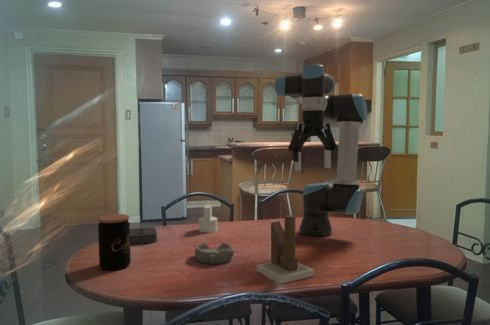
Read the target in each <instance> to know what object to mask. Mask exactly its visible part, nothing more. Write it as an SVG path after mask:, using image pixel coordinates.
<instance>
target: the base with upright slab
mask: <svg viewBox="0 0 490 325" xmlns="http://www.w3.org/2000/svg"><path fill="white" fill-rule="evenodd" d="M212 206H213V204H205V205H204V207H203V216H202V217H199V218H198V232H200V233H215V232H218V229H219V228H218V217H216V216H213V207H212Z"/></svg>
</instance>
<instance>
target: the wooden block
mask: <svg viewBox="0 0 490 325" xmlns="http://www.w3.org/2000/svg"><path fill="white" fill-rule="evenodd" d="M270 262H272V263H274V264H276V265H278V264H280V267H282V268H284V269H286V270H288V271H291V270H296V269H297V262H298V259H297V257H296V216H295V215H293V214H286V215H284V228H283V226H282V224H281V221H272V222H270Z"/></svg>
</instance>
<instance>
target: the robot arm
mask: <svg viewBox="0 0 490 325" xmlns="http://www.w3.org/2000/svg"><path fill="white" fill-rule="evenodd" d="M301 73H302V74H300V75H299V74H298V75H297V74H295V75H294V74H293V75H282V76H279V77H277V78H276V79H275V82H274V90H275V93H276V95H278V96H280V97H285V96H286V97H290V98H291V99H293V100H294V101H296V102H297V103H299V104H300V105H301V106H302V107H301V108H302V110H303V111H302V113H301V115H302V117H301V118H302V119H301V120H302V122H303V123H296V124H295V127H294V132H293V134H292V138H291V140H290V143H289V145H288V148H287V150H288V151H289V152H291V153H292V161H293V162H294V171H295V172H302V153H301V152H300V151H301V149H302V148H303V146H304V145H305V143H306V141H307V140H308V139H309V138H310V137H317V138H318V139H319V141H320V142H321V143H322V145H323V147H324V148H325V150H323V151H324V152H323V153H324V154H323V156H324V158H323V159H324V160H323V164H324V165H323V168H325V169H331V168H332V166H331V165H332V159H333V151H335V149H338V150H337V166H336V179H335V180H334V181H333V182H332V186H330V184H329V182H317V183H310V184H307V185H304V187H303V195H302V200H303V201H302V202H303V204H302V212H303V214H302V218H301V222H300V225H299V233H300V234H301V235H305V236H308V237H309V236H310V237H326V236H331V235H332V234H333V228H332V227H333V226H332V225H331V221H330V217H329V213H334V214H335V213H337V214H345V215H357V214H358V212H360V210H361V207H362V204H363V200H364V199H363V198H364V191H363V188H360V184H359V183H358V181H357V169H358V151H359V136H360V135H359V132H360V128H361V126H363V124H364V123H363V122H364V121H366V120H367V119H368V104H367V100H366V97H365V96H364V95H363V94H362V93H346V94H331V93H332V92H333V91H335V90H334V89H335V88H336V87H335V86H336V81H335V78H334V77H333V76H332V75H330V74H328V73H325V66H324V65H323V64H307V65H304V66H303V67H302V72H301ZM324 120H327V121H328V120H329V121H336V125H337V126H338V128H339V131H338V132H339V134H338V146H337V144H336V140H335V138H334V135H333V133H332V130H331V123H330V122H324V123H323V121H324ZM337 147H338V148H337Z"/></svg>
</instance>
